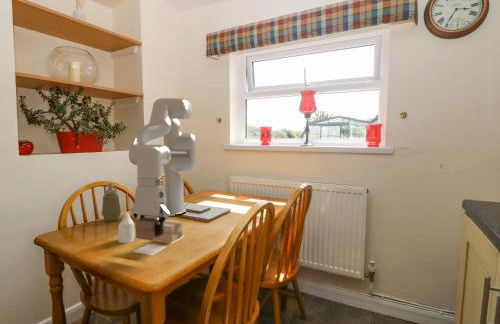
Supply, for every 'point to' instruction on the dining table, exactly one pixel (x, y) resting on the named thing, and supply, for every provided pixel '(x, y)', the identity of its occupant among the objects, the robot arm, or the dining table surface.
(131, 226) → the white bottle
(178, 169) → the robot arm
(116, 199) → the squeeze bottle
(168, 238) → the oak block
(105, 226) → the dining table surface
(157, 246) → the build board
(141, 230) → the walnut block
